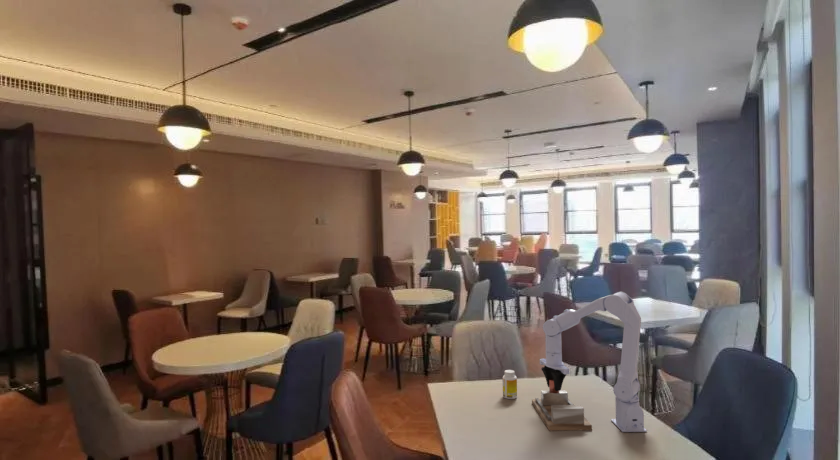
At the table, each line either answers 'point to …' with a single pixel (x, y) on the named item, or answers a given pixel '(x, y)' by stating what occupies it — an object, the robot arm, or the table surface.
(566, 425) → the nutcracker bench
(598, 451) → the table surface
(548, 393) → the sliding jaw
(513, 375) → the supplement bottle
